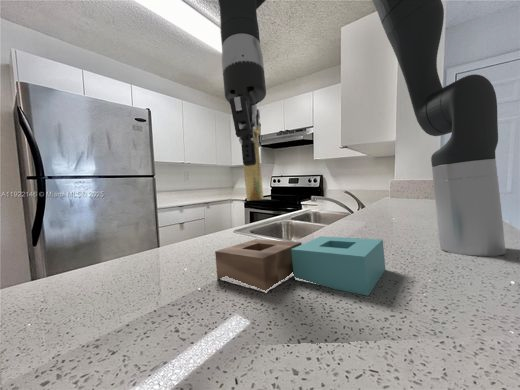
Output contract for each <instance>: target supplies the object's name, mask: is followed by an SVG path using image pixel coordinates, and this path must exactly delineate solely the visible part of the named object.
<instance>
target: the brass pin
mask: <svg viewBox="0 0 520 390" xmlns="http://www.w3.org/2000/svg"><path fill="white" fill-rule="evenodd" d="M259 134H260V127H259V126H257V129H256V130H254V137H255V142H252V143H255V153H256V164H255V165H250V166H245V165H244V164H243V172H244V183H245V194H246V195H245V197H246V201H247V202H249V201H259V200H264V189H263V181H262V180H263V179H262V170H261V158H260V149H259V148H260V147H259V146H258V135H259Z"/></svg>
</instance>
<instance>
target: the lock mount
mask: <svg viewBox="0 0 520 390" xmlns="http://www.w3.org/2000/svg"><path fill="white" fill-rule="evenodd" d="M300 245H302V242H301V241H290V240H289V241H287V240H286V241H285V240H278V239H277V240H275V239H274V240H273V239H260V238H255V239H251V240H248V241H245V242H242V243H239V244H235V245H232V246H228V247H225V248H222V249H219V250H215V252H214V253H215V255H214V256H215V266H216V268H215V269H216V279H217V280H218V279H220V278H222V277H225V276H228V277H229V278H233V279H235V280H238V281H241V282H243V283H246V284H248V285H251V286H255V287H257V288H260V289H262V290H265V291H266V290H267V289H269V288H270V287H272V286H273V285H274V284H276V283H278V282H279V281H281V280H283V279H285V278H286V277H287V276H289V275H290V274H291V273H292V272H293V262H292V251H291V249H293V248H295V247H298V246H300ZM218 281H219V280H218Z"/></svg>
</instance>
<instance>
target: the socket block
mask: <svg viewBox="0 0 520 390" xmlns="http://www.w3.org/2000/svg"><path fill="white" fill-rule="evenodd" d="M301 244H302V243H301ZM291 251H292V262H293V274H294V276H293V278H294V277H296V278H299V279H303V280H306V281H310V282H313V283H316V284H319V285H323V286H327V287H326V288H328V287H330V288H329V289H333V290H339V291H344V292H347V293H353V294H358V295H363V296H367V297H368V296H369V295H370V294H371V293H372V291H373V290H374V288H375V287H376V285H377V283H378V281H380V279H381V277H382V276H383V275H384V273H385V272H386V269H387V268H386V261H385V260H386V259H385V252H384V251H385V248H384V239H377V238H362V237H361V238H357V237H340V236H322V235H321V236H318V237H316V238H314V239H312V240H310V241H309V240H308V241H307V242H305V243H303V244H302V245H300V246H298V247H295V248H293V249H291ZM319 285H318V286H319ZM323 286H322V287H323Z"/></svg>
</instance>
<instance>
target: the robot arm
mask: <svg viewBox="0 0 520 390" xmlns="http://www.w3.org/2000/svg"><path fill="white" fill-rule="evenodd" d="M217 1H218V6H219V17H220V19H219V25H220V30H219V31H220V40H221V68H222V79H223V89H224V91H223V92H224V98H225V100H226V101H227V102H228V103H229V105H230V110H231V116H232V120H233V121H232V122H233V124H234V125H233V127H234V131H235V135H236V137H237V138H238V141H239V144H240V145H241V155H242V157H241V158H242V163H243V166H244V165H245V166H250V165H255V164H256V153H255V143H252V142H255V137H254V130H256V129H257V126H259V127H260V134H259V135H258V146H259V148H260V147H262V140H261V139H262V138H261V137H262V135H261V134H262V133H261V130H262V129H261V127H262V124H261V122H260V118H261V115H260V109H258V107H257V104H259V103H261V102H262V101H263V100H265V98H266V95H267V88H266V76H265V67H264V56H263V52H262V48H261V40H260V39H261V37H260V28H259V23H258V21H259V20H258V16H257V15H258V13H257V10H258V9H259V8H260V7H261V6H262V5H263V4H264V3H265V2H267V0H217ZM371 1H372V3H373V5H374V8H375V10H376V12H377V14H378V17H379V21H380V23H381V25H382V28H383V30H384V33H385V36H386V37H387V40H388V41H389V43H390V46H391V47H392V50H393V53H394V55H395V57H396V60H397V62H398V65H399V67H400V70H401V72H402V75H403V78H404V82H405V84H406V88H407V91H408V94H409V95H408V96H409V99H410V101H411V106H412V109H413V112H414V115H415V118H416V121H417V123H418V125H419V126H420V128H421V130H423V132H425V134H427V135H428V136H432V137H441V136H445V135H448V134H450V137H449V139H448V140H447V142H446V143H445V144H444V145H443V146H442V147H441V148H439V149H437V150H436V151H434V152H433V154H431V157H430V159H431V160H430V161H431V170H432V180H433V191H434V198H435V199H434V200H435V201H434V202H435V209H436V217H437V218H436V220H437V228H438V231H437V232H438V239H439V248H440V249H441V250H442V251H444V252H448V253H451V254H452V253H453V254H458V255H464V256H465V255H466V256H477V257H495V256H502V255H505V254H506V252H507V250H506V249H507V248H506V241H505V232H504V230H505V229H504V221H503V214H502V204H501V197H500V196H501V195H500V186H499V176H498V168H497V160H496V159H497V158H496V150H497V147H498V144H499V143H498V142H499V128H498V127H499V126H498V125H499V123H498V100H497V93H496V91H495V88H494V86H493V84H492V82H491V81H490V80H489V79H488V78H486V76H484V75H481V74H478V73H477V74H469V75H466V76H463V77H461V78H459V79H458V80H456V81H453V82H452V83H450V84H448V85H446V86H444V87H443V85H442V83H441V80H440V76H439V72H438V67H437V66H438V61H437V60H438V52H439V47H440V42H441V38H442V32H443V28H444V27H443V26H444V20H445V19H444V17H445V16H444V15H445V8H444V5H443V1H442V0H371Z"/></svg>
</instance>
